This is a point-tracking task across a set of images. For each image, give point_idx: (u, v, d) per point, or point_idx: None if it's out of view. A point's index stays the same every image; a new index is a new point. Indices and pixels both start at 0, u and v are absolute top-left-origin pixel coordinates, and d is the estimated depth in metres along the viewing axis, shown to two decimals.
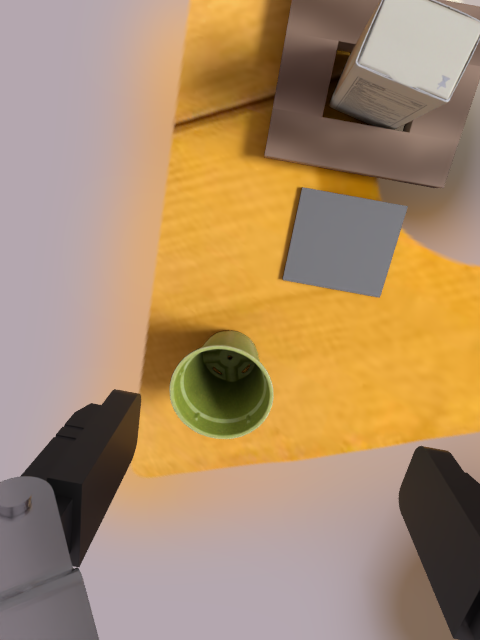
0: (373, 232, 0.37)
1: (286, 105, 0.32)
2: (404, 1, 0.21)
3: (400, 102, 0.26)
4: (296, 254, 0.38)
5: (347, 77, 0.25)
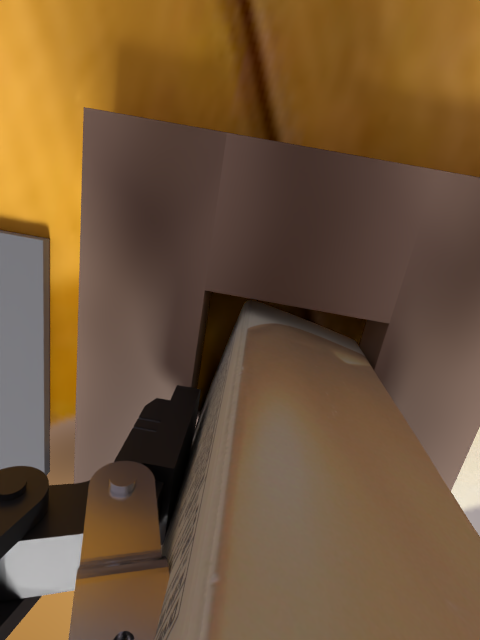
0: None
1: (234, 179, 0.10)
2: None
3: None
4: None
5: (219, 486, 0.05)
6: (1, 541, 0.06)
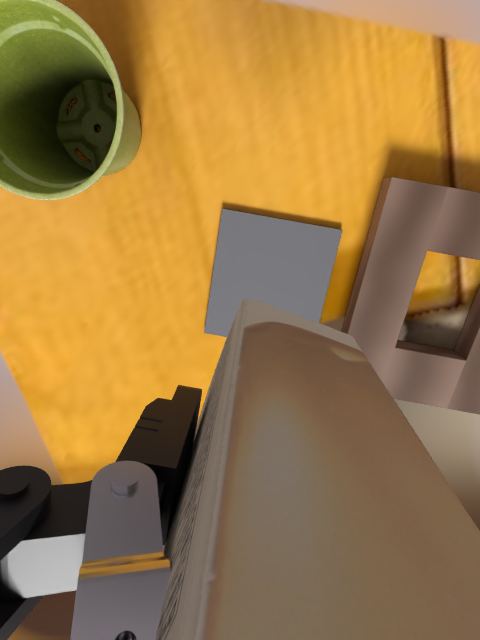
0: None
1: (448, 205, 0.26)
2: None
3: None
4: (257, 226, 0.28)
5: (215, 484, 0.05)
6: (3, 540, 0.06)
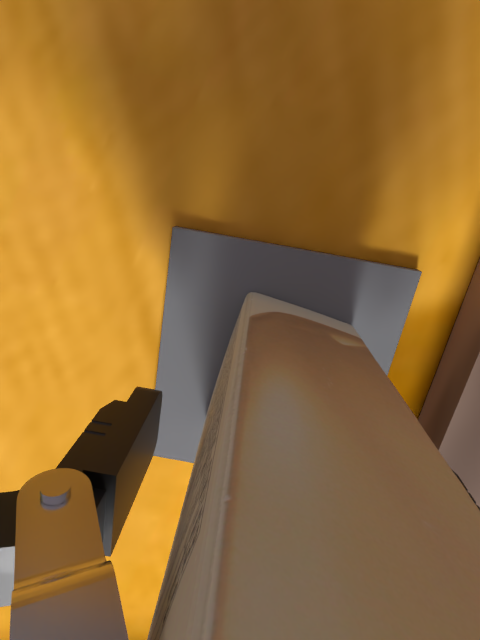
0: None
1: None
2: None
3: (159, 605, 0.07)
4: (245, 262, 0.14)
5: (228, 437, 0.06)
6: None
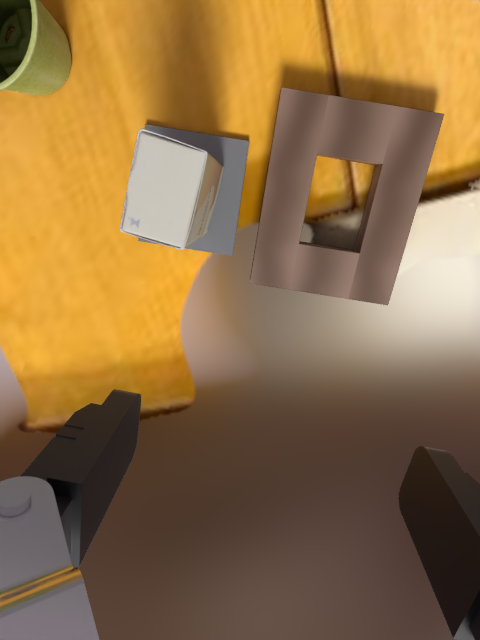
0: None
1: (330, 111, 0.30)
2: (193, 169, 0.22)
3: None
4: (176, 139, 0.33)
5: None
6: None
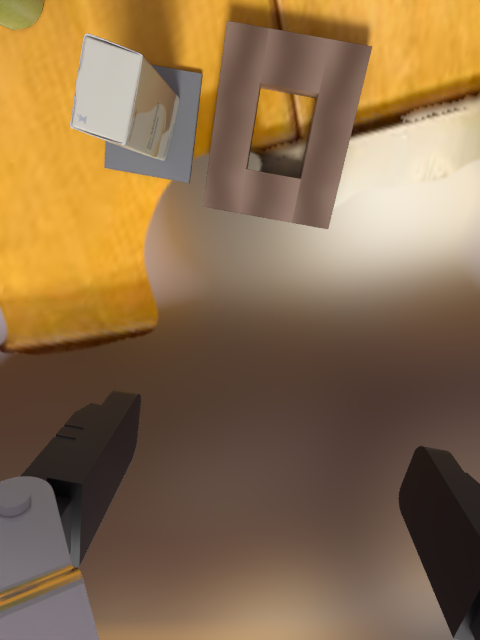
0: None
1: (270, 43, 0.34)
2: (131, 70, 0.26)
3: None
4: None
5: None
6: None
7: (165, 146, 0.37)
